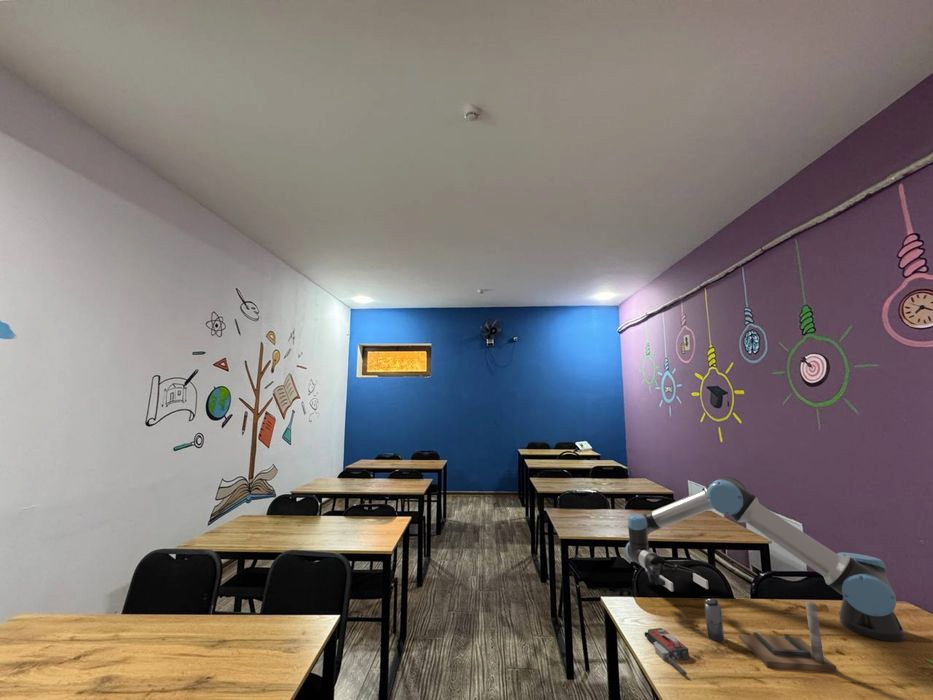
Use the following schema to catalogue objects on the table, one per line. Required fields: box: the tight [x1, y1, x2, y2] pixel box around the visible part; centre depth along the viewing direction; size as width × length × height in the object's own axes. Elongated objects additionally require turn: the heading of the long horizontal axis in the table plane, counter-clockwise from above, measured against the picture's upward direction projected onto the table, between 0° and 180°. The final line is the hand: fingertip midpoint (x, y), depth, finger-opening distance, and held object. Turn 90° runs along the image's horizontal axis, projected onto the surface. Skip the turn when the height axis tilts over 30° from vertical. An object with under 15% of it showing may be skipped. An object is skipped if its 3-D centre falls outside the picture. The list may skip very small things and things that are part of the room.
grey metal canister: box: [704, 598, 725, 643], centre depth 126 cm, size 5×5×12 cm
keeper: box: [738, 601, 838, 673], centre depth 117 cm, size 19×14×16 cm
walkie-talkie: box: [644, 627, 690, 676], centre depth 117 cm, size 9×4×20 cm
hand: (689, 586), depth 136 cm, fingers open, 13 cm apart
